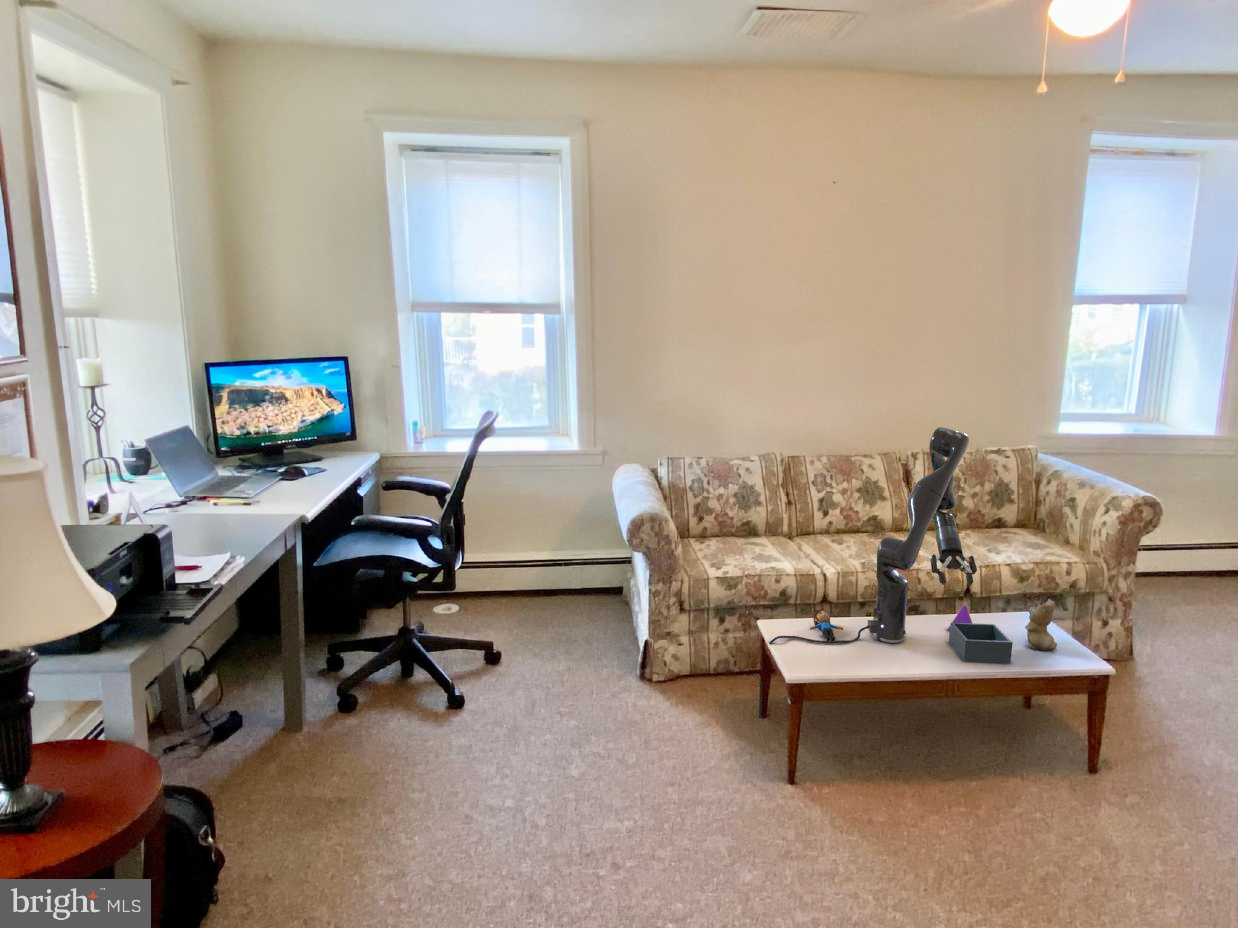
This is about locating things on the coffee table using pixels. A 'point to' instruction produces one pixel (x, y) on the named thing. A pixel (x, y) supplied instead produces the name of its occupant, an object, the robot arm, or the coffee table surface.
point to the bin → (980, 643)
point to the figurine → (1041, 627)
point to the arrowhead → (962, 616)
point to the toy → (824, 624)
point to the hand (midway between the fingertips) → (957, 584)
